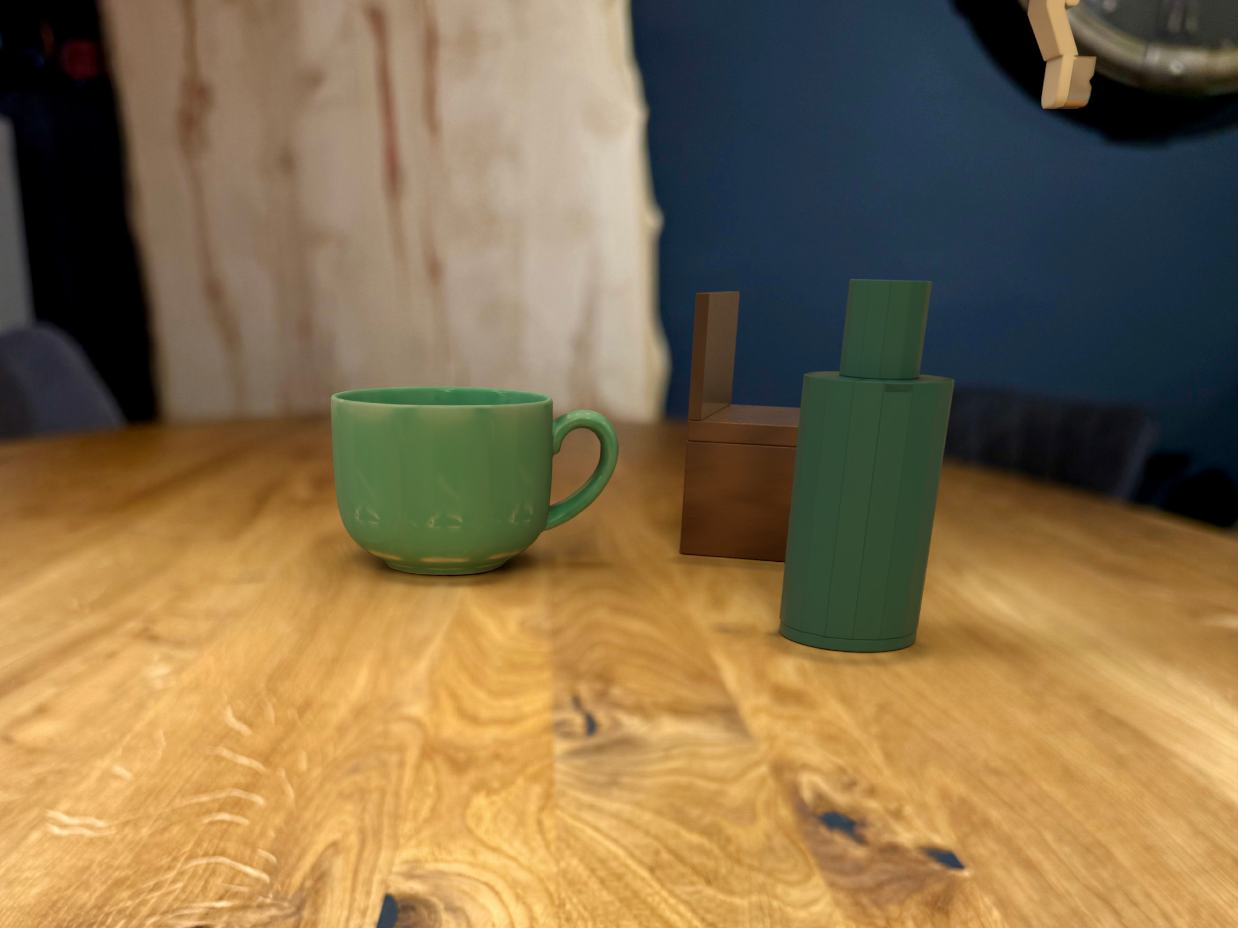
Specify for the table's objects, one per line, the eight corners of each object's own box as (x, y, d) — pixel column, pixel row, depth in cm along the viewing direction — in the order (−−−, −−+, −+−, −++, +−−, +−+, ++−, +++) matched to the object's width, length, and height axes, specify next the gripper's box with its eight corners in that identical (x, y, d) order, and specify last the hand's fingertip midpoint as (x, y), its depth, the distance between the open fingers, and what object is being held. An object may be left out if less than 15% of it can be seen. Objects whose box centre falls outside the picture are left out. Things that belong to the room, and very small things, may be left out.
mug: (322, 583, 73) (312, 401, 69) (353, 540, 84) (346, 382, 80) (618, 590, 73) (627, 409, 69) (610, 547, 84) (616, 390, 80)
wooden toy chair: (866, 533, 91) (897, 295, 84) (854, 567, 80) (887, 298, 74) (710, 522, 93) (727, 290, 87) (679, 553, 83) (696, 292, 76)
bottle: (893, 618, 68) (940, 280, 61) (933, 652, 62) (990, 282, 55) (767, 617, 68) (800, 277, 61) (795, 651, 62) (835, 278, 55)
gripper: (1454, -272, 54) (1359, 119, 60) (965, -287, 53) (920, 112, 59) (1568, -335, 48) (1450, 104, 54) (1023, -352, 47) (966, 97, 53)
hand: (1170, 109), depth 57 cm, fingers open, 8 cm apart
